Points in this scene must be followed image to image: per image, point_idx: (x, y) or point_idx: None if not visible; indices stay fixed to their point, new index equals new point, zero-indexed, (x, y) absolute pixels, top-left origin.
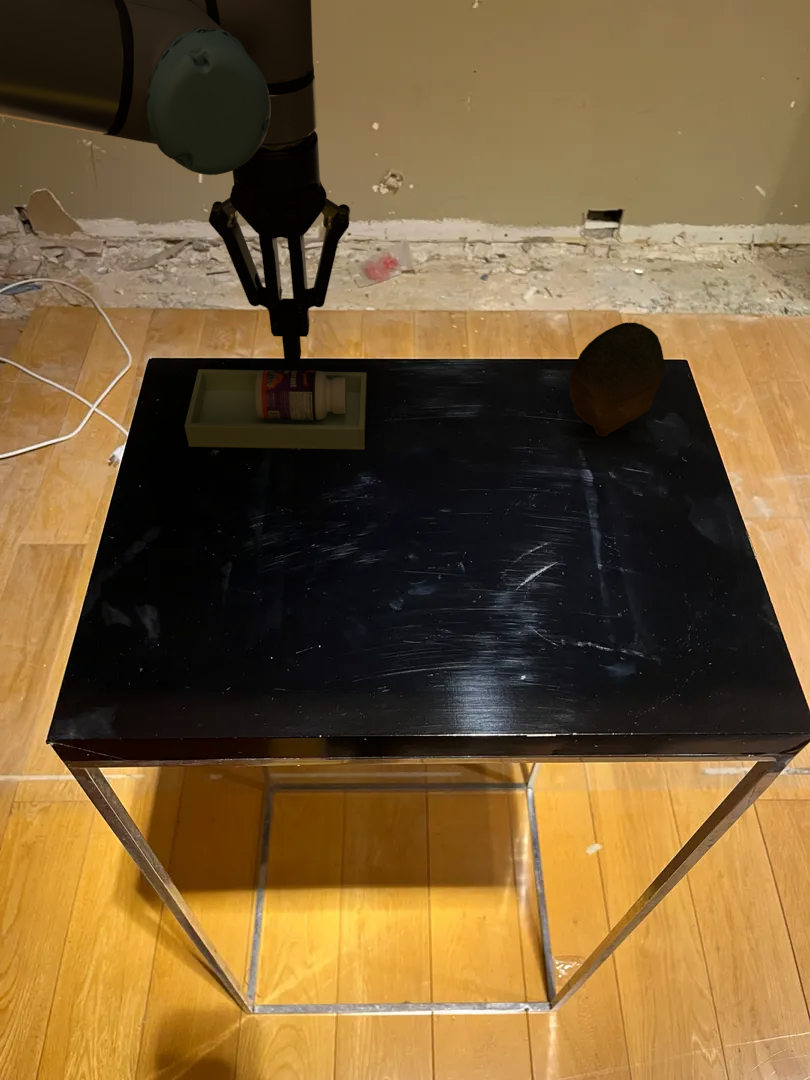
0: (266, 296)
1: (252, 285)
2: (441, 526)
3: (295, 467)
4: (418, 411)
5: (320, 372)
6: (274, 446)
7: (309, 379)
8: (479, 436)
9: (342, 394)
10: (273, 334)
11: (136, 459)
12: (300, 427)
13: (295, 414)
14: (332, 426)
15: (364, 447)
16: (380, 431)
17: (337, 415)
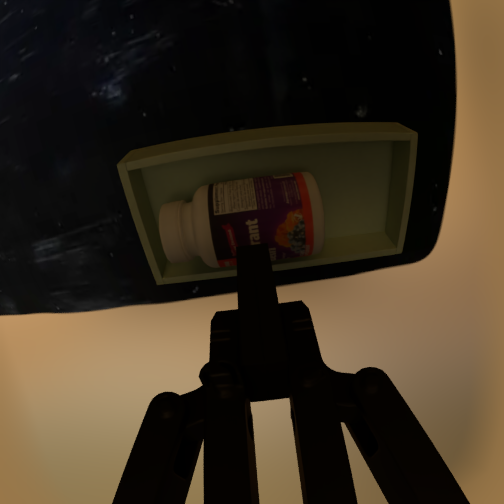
0: (336, 407)
1: (387, 432)
2: (14, 50)
3: (229, 90)
4: (89, 240)
5: (209, 261)
6: (272, 127)
7: (223, 240)
8: (17, 213)
9: (162, 224)
10: (302, 304)
11: (451, 101)
12: (226, 145)
13: (244, 179)
14: (170, 159)
15: (129, 152)
16: (120, 193)
17: None
